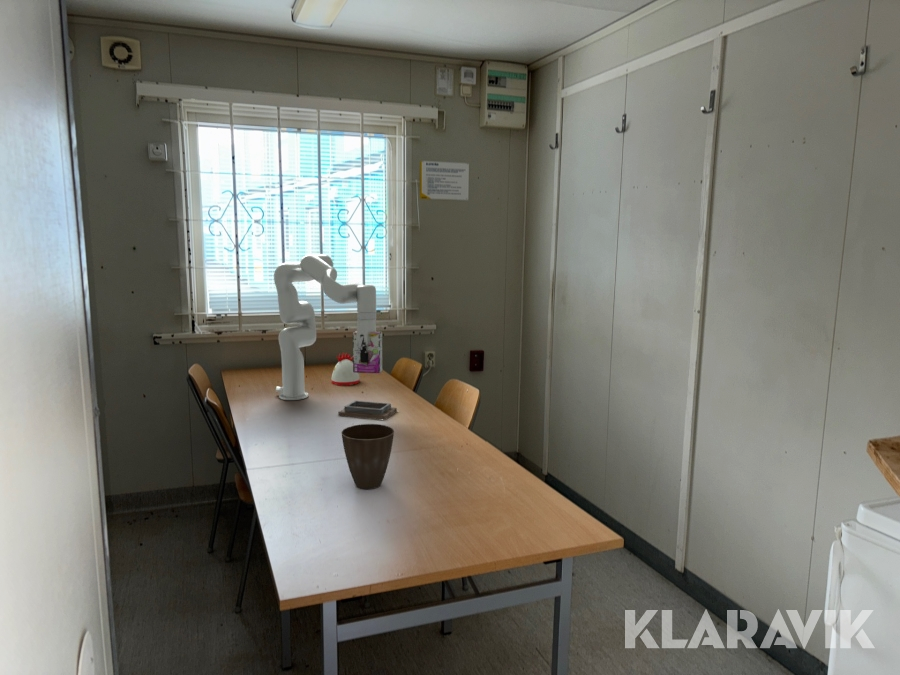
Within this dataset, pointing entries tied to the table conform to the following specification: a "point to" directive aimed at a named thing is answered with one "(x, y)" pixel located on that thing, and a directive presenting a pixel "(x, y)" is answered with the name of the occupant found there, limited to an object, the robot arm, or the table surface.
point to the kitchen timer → (344, 372)
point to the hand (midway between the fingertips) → (367, 360)
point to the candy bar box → (373, 355)
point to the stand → (368, 410)
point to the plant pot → (367, 453)
